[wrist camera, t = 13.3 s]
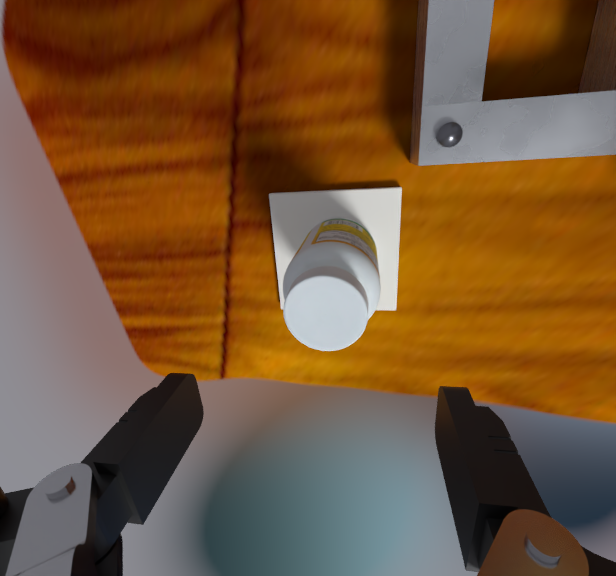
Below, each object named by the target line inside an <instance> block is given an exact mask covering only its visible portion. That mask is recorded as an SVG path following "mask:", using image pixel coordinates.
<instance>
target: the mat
mask: <svg viewBox="0 0 616 576" xmlns="http://www.w3.org/2000/svg"><path fill="white" fill-rule="evenodd" d="M401 194H402V188H401V187H386V188H365V189H344V190H323V191H302V192H281V193H270V194H269V201H270V210H271V219H272V229H273V238H274V248H275V257H276V266H277V276H278V285H279V295H280V304H281V309H284V302H285V299H284V295H283V279H284V275H285V272H286V269H287V267H288V265H289V263H290V262H291V260H292V259H293V257H294V256H295V254H296V252H297V251H298V249H299V248H300V246H301V244H302V243H303V241H304V239H305V238H306V236H307V235H308V233H309V232H310V231H311V230H312V229H313V228H314V227H315V226H316V225H317V224H319V223H320V222H322V221H324V220H327V219H331V218H347V219H351V220H354V221H356V222H358V223H360V224H361V225H362V226H364V227H365V228H366V229H367V230H368V231H369V233H370V234H371V236H372V237H373V239H374V242H375V245H376V249H377V259H378V267H379V275H380V286H381V291H380V298H379V302H378V305H377V307H376V309H375V310H396V303H397V281H398V259H399V238H400V216H401Z"/></svg>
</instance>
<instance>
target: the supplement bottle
mask: <svg viewBox="0 0 616 576" xmlns="http://www.w3.org/2000/svg"><path fill="white" fill-rule="evenodd" d="M380 291H381V286H380V275H379V267H378V259H377V249H376V245H375V242H374V239H373V237H372V236H371V234H370V233H369V231H368V230H367V229H366V228H365V227H364V226H362V225H361V224H360V223H358V222H356V221H354V220H351V219H347V218H331V219H327V220H324V221H322V222H320V223H319V224H317V225H316V226H315V227H314V228H313V229H312V230H311V231H310V232H309V233H308V235H307V236H306V238H305V239H304V241H303V243H302V244H301V246H300V248H299V249H298V251H297V252H296V254H295V256H294V257H293V259H292V260H291V262H290V263H289V265H288V267H287V269H286V272H285V275H284V279H283V295H284V299H285V302H284V310H283V313H284V319H285V322H286V325H287V327H288V329H289V330H290V332H291V333H292V334H293V336H294V337H295V338H296V339H297V340H299V341H300V342H301V343H303V344H305V345H306V346H308V347H310V348H313V349H317V350H322V351H334V350H339V349H343V348H345V347H348V346H350V345H351V344H353V343H354V342H355V341H356V340H357V339H358V338H359V337H360V336H361V335H362V333H363V332H364V330H365V327H366V325H367V321H368V319H369V318H370V317H371V316H372V315H373V313H374V311H375V309H376V307H377V305H378V302H379V298H380Z"/></svg>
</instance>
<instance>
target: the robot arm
mask: <svg viewBox="0 0 616 576" xmlns="http://www.w3.org/2000/svg"><path fill="white" fill-rule="evenodd" d="M202 420H203V406H202V402H201V398H200V394H199V389H198V385H197V381H196V378H195V376H194V375H193V374H184V373H170V374H168V375H167V376H166V377H165V379H164V380H163V381H162V382H161V383H160V384H159V386H158V387H157V388H156V387H154V388H152V389H151V390H149V391H148V392H146V393H145V394H143V395H142V396H141V397H139V398H138V399H137V401H136V402H135V403H134V404H133V405H132V406H131V407H130V408H129V410H128V412H126V413H125V414H124V415H123V416H122V417H121V418H120V419H119V422H118V423H116V424H115V425H114V426H113V427H112V428H111V429H110V431H109V432H108V433H107V434H106V435H105V436H104V437H103V439H102V440H101V441H100V442H99V443H98V444H97V445H96V446H95V447H94V448H93V450H92V451H91V452H90V453H89V454H88V455H87V456H86V457H85V459H84V460H83V461H82V462H81V463H76V464H70V465H67V466H64V467H62V468H60V469H57V470H56V471H54V472H52V473H51V474H49V475H48V476H46V477H45V478H44V479H42V480H41V481H40V482H39V483H38V484H37V485H36V486H35V487H34V488H30V489H25V490H20V491H16V492H10V493H4V492H3V490H2V489H1V487H0V576H123V541H122V535H121V531H122V530H123V528H124V527H125V525H126V524H127V522H128V523H134V524H142V525H143V524H144V522H145V521H146V519H147V517H148V515H149V514H150V512H151V510H152V509H153V507H154V505H155V503H156V502H157V500H158V498H159V497H160V495H161V493H162V491H163V490H164V488H165V486H166V485H167V483H168V481H169V479H170V478H171V476H172V474H173V473H174V471H175V469H176V468H177V466H178V464H179V462H180V461H181V459H182V457H183V456H184V454H185V452H186V450H187V449H188V447H189V445H190V443H191V442H192V440H193V438H194V437H195V435H196V433H197V432H198V430H199V428H200V426H201V423H202ZM435 439H436V445H437V450H438V454H439V459H440V463H441V467H442V471H443V476H444V479H445V484H446V488H447V492H448V497H449V501H450V505H451V509H452V514H453V518H454V522H455V526H456V531H457V535H458V539H459V543H460V547H461V551H462V556H463V560H464V564H465V569H466V570H467V571H474V572H479V573H478V575H477V576H616V562H613V561H611V560H608V559H606V558H603V557H601V556H599V555H597V554H594V553H592V552H591V551H589V550H587V549H585V548H584V547H582V546H581V545H580V544H579V543H578V541H577V540H576V539H575V537H574V536H573V535H572V534H571V533H570V532H569V531H568V530H567V529H566V528H565V527H563V526H562V525H561V524H560V523H558V522H557V521H555V520H554V519H552V517H551V516H550V514H549V513H548V511H547V509H546V507H545V505H544V503H543V501H542V499H541V497H540V495H539V493H538V491H537V489H536V487H535V485H534V483H533V481H532V479H531V477H530V475H529V473H528V471H527V469H526V467H525V465H524V463H523V461H522V459H521V457H520V455H518V451H517V448H516V447H515V444H514V443H513V441H511V437H510V434H509V432H508V430H507V428H506V426H505V424H504V422H503V421H502V420H501V419H500V418H499V417H498V416H497V415H496V414H495V413H494V412H493V411H492V410H491V409H490V408H489V407H482V406H475V404H474V401H473V399H472V397H471V394H470V392H469V390H468V388H466V387H446V386H440V388H439V392H438V402H437V411H436V420H435Z"/></svg>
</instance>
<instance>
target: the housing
mask: <svg viewBox="0 0 616 576" xmlns="http://www.w3.org/2000/svg"><path fill="white" fill-rule="evenodd" d="M493 6H494V0H418V19H417V37H416V56H415V74H414V93H413V112H412V130H411V149H410V163H412V164H415V165H418V166H421V165H439V164H456V163H474V162H492V161H509V160H527V159H544V158H562V157H579V156H597V155H614V154H616V0H599V2H598V6H597V11H596V15H595V20H594V24H593V29H592V33H591V38H590V42H589V47H588V51H587V56H586V60H585V64H584V69H583V73H582V78H581V82H580V87H579V91H578V94H566V95H554V96H542V97H530V98H518V99H506V100H494V101H482V94H483V86H484V78H485V70H486V62H487V54H488V46H489V38H490V30H491V22H492V14H493Z"/></svg>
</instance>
